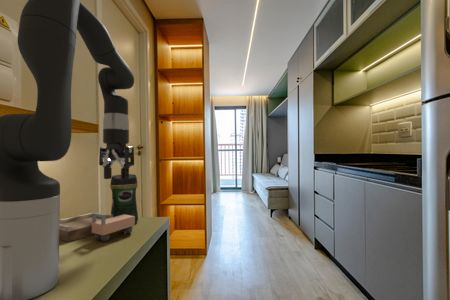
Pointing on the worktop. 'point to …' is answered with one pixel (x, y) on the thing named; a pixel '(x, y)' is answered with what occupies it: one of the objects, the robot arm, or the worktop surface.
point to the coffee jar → (124, 196)
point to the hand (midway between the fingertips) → (116, 179)
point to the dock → (77, 227)
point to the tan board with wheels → (111, 225)
